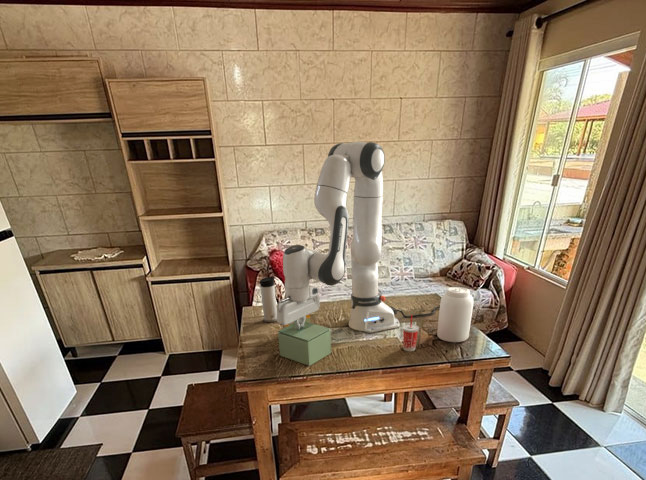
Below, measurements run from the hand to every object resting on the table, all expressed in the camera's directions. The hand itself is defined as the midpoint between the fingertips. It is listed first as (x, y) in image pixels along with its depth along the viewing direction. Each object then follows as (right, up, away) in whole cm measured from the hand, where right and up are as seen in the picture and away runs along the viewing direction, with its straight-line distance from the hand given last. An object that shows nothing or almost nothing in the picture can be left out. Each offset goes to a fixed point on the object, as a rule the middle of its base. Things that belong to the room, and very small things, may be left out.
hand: (300, 328), depth 154 cm
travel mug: (-16, +8, +37) cm, 41 cm away
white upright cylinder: (+62, -2, +13) cm, 63 cm away
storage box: (+2, -10, +4) cm, 11 cm away
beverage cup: (+42, -8, +5) cm, 43 cm away
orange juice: (-2, -1, +20) cm, 20 cm away
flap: (-1, 0, +1) cm, 2 cm away
